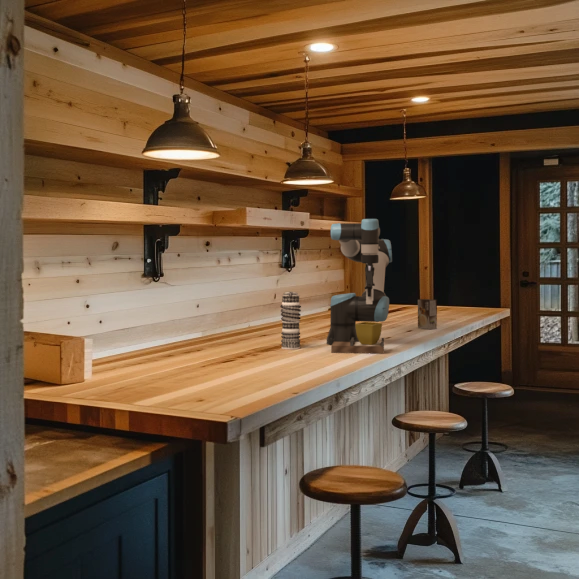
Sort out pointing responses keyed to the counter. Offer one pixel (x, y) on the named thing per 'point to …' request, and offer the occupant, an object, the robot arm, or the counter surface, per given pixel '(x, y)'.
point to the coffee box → (427, 314)
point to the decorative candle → (290, 320)
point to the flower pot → (368, 332)
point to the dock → (357, 347)
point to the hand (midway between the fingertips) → (369, 302)
